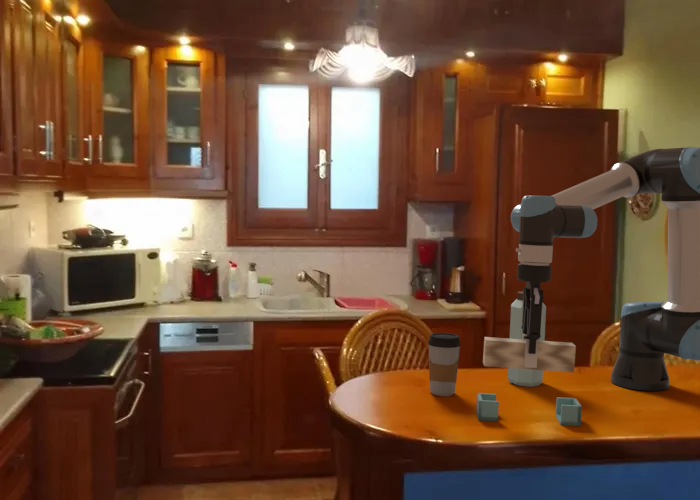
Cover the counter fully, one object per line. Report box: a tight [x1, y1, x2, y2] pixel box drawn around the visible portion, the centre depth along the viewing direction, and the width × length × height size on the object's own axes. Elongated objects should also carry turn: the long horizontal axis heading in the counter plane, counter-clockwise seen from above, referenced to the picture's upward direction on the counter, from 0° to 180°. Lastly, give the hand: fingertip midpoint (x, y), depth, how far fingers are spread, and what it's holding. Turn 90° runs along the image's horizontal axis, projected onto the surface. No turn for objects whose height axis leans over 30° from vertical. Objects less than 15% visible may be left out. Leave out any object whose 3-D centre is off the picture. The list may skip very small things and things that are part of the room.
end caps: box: [475, 392, 583, 427], centre depth 167 cm, size 23×7×4 cm, turn 84°
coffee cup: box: [427, 332, 461, 397], centre depth 186 cm, size 8×8×15 cm
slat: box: [482, 336, 577, 373], centre depth 166 cm, size 20×4×6 cm, turn 84°
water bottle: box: [507, 290, 547, 388], centre depth 198 cm, size 10×10×25 cm
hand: (528, 364), depth 166 cm, fingers closed on slat, 4 cm apart
